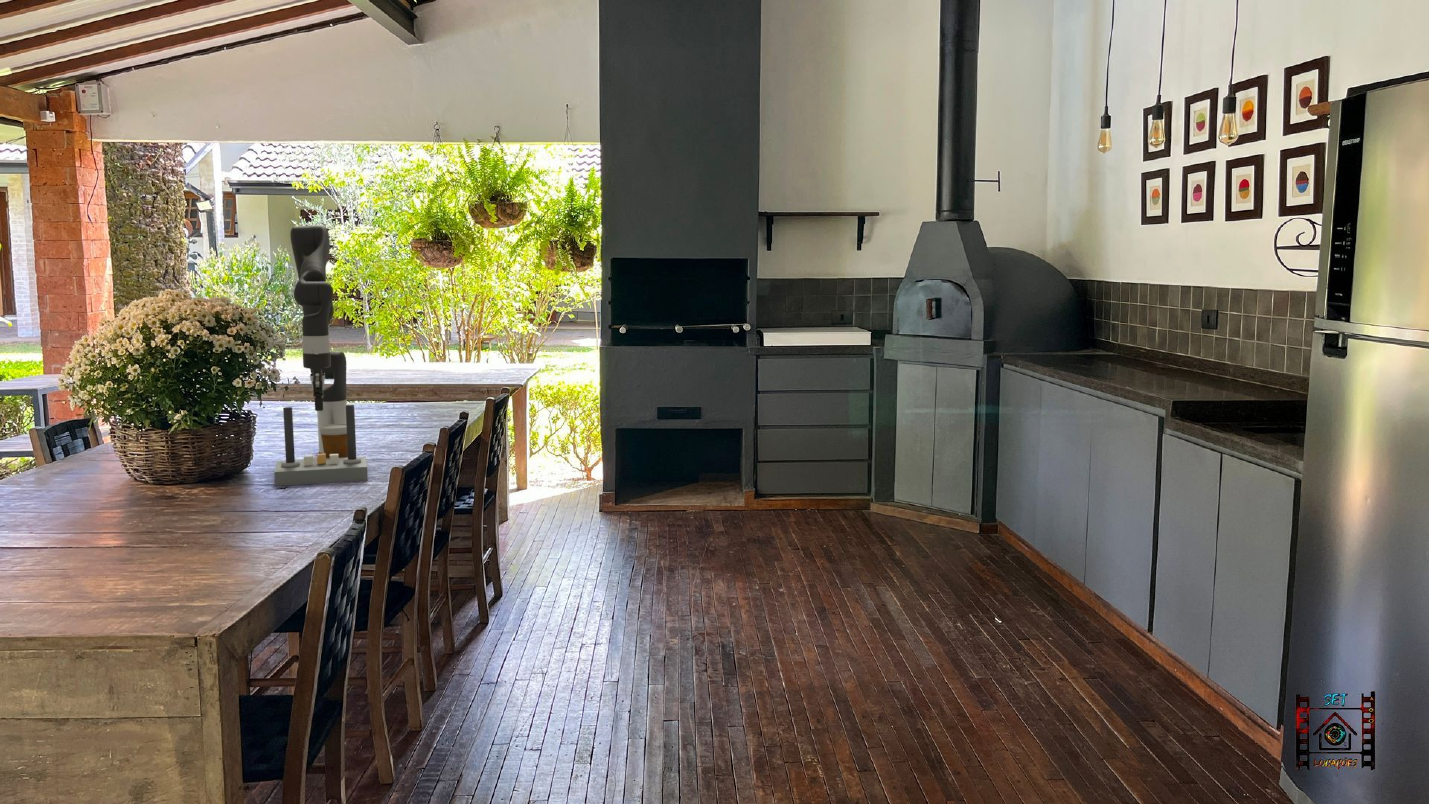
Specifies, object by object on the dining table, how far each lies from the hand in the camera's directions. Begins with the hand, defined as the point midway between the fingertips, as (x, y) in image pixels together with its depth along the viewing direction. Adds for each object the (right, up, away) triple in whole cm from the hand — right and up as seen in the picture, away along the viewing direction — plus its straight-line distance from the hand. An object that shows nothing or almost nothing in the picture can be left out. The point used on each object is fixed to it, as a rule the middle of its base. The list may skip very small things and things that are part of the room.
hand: (319, 410), depth 313 cm
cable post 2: (+8, -15, +5) cm, 18 cm away
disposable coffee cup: (-3, -17, +22) cm, 28 cm away
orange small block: (0, -15, +2) cm, 16 cm away
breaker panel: (0, -20, +3) cm, 20 cm away
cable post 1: (-8, -16, 0) cm, 18 cm away
